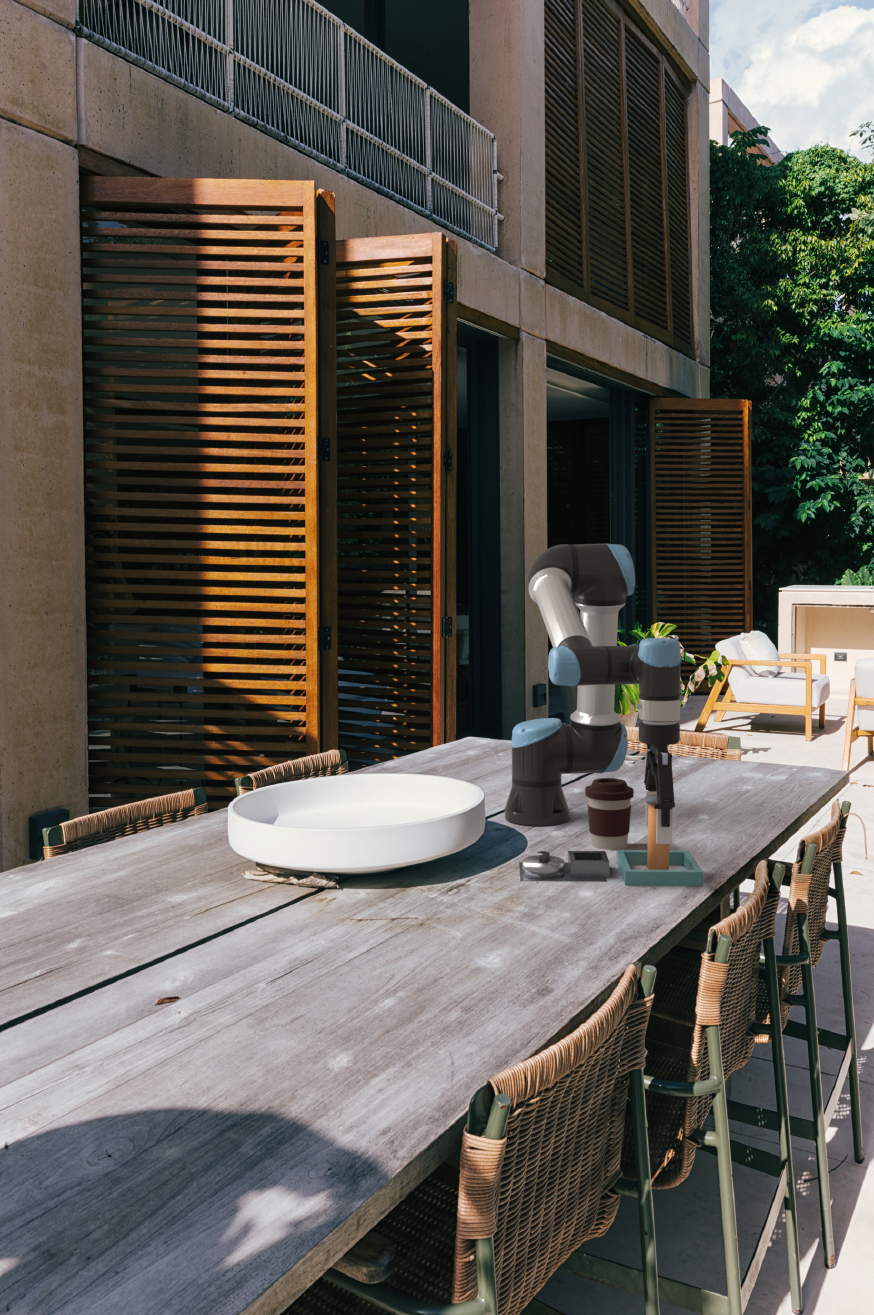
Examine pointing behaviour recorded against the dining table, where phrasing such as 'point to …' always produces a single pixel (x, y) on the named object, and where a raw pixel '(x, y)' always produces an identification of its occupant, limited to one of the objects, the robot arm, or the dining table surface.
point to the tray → (659, 877)
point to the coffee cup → (609, 812)
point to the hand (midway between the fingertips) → (658, 833)
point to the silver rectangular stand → (566, 867)
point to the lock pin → (656, 852)
